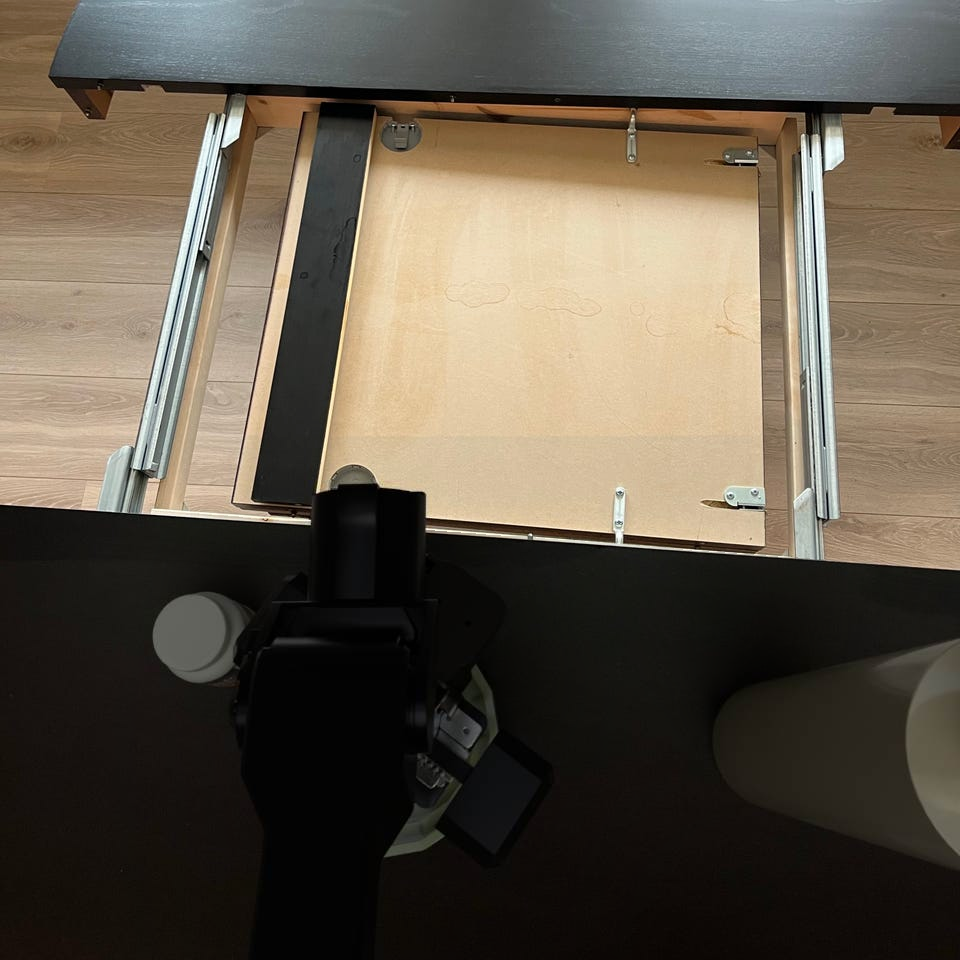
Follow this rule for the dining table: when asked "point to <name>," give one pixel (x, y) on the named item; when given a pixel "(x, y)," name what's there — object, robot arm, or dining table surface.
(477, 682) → the bowl
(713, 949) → the dining table surface
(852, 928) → the dining table surface
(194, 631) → the pill bottle
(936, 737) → the vase
